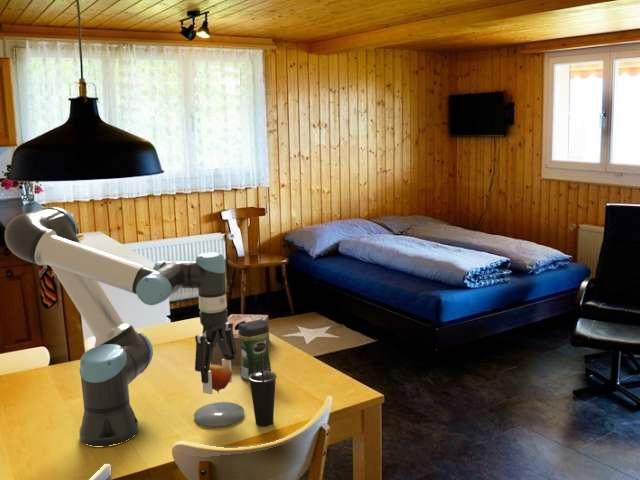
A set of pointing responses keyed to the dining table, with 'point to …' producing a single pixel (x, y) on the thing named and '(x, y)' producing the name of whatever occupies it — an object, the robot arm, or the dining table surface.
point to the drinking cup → (263, 395)
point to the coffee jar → (253, 347)
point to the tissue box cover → (236, 337)
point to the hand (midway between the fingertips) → (217, 387)
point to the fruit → (220, 377)
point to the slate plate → (219, 415)
